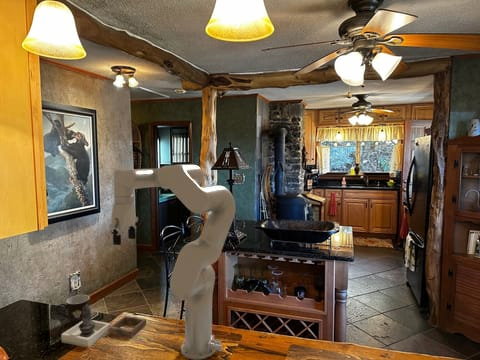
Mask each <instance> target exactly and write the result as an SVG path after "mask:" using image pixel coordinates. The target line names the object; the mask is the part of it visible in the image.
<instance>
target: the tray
mask: <svg viewBox="0 0 480 360" xmlns="http://www.w3.org/2000/svg"><path fill="white" fill-rule="evenodd" d="M91 320H92V319H91ZM92 321H94V322H95V323H96V324H95V327H94V329H93V330H94V331H95V333H94V334H93V335H91V336H90V337H87V338H86V337H81V336H80V333H81V331H80V328H79V325H80V324H81V323H82V322H83V321H81V322H80V323H78V324H77V325H75V326H74V327H72V326H71V327H70V328H69V329H67V330H66V331H64V332H62V333H61V337H60V338H61V343H63V344H69V345H74V346H78V347H83V348H87V349H88V348H90V347H92V346H93V345H94V344H96V343H97V342H99V341H100V340H101V339H102V338H103V337H105V336H106V335H107V334H108V333H109V328H110V327H111V326H112V324H111V323H109V322H105V321H99V320H94V319H93V320H92ZM105 334H106V335H105ZM104 335H105V336H104ZM100 338H101V339H100Z"/></svg>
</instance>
